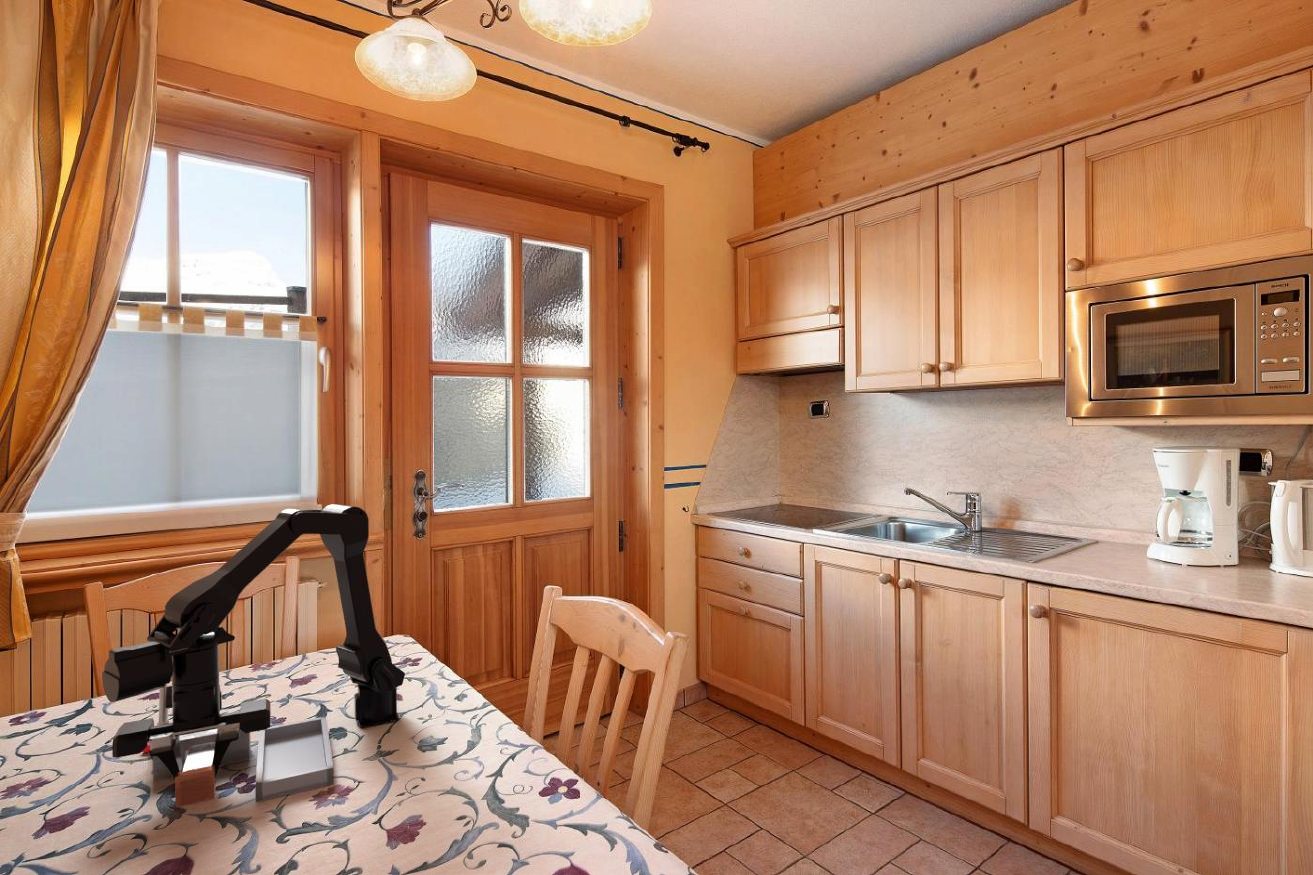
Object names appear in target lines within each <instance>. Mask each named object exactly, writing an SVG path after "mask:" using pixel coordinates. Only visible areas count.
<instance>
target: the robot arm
mask: <svg viewBox="0 0 1313 875" xmlns="http://www.w3.org/2000/svg"><path fill="white" fill-rule="evenodd" d="M369 520H370V519H369V515H368V513H367V512H366V510H364V509H362V508H361V507H359V506H355V505H347V504H346V505H345V504H336V503H335V504H329V505H326V506H325V507H324V508H323V509H294V508H286V509H283V510H282V511H280V512H278V514H277V515H276V517H275V518H274V520H273V521H271V522H270V523H269V524H268V525H267V526H266V527H264V528H263V529H262V530H261V531H260V532H259V533H257V534H256V535H255V537H253V538H252V539H251V540H250V541H249V542H248V543H246V544H244V545H243V547H241V549H240V550H238V551H237V552H236V553H235V554H234V555H233V556H232V557H231V558H229V559H228V560H227V561H226V562H225V563H224V564H223V565H221V567H219V568H218V569H216V570H215V571H213V572H212V573H211V574H209V575H206V576H204V577H202V578H200V579H197V580H195V581H193V582H192V583H190V584H189V585H187V586H185V587H184V588H183V589H181V590H179V591H178V592H176V593H175V594H173V595H172V596H171V597H170V599H169V600H167V602H166V604H165V605H164V608H165V609H164V614H163V615H162V617H161V618H160V619H159V621H158V622H157V624H156V625H155V626H154V628H153V629H152V631H151V632H150V633H149V635H148V636H147V638H146V641H147V642H144V643H141V644H140V643H139V644H136V645H131V646H124V647H122V646H121V647H116V648H111V649H110V650H109V651H108V659H107V660H106V662H105V664H104V669H103V671H102V672H101V675H102V676H101V678H102V679H101V680H102V681H101V682H102V686H103V691H104V693H105V696H106V698H107V700H108V701H109V702H110V703H116V702H119V701H124V700H126V699H131V698H133V697H139V696H141V695H145V694H149V693H152V692H154V691H155V692H156V691H160V689H162V688H163V687H164V686H165V684H167V686H168V687H167V688H166V700H165V707H166V708H168V709H172V712H171V713H172V722H169V723H168V724H162V725H157V724H156V725H155V721H154V720H155V719H154V717H152V718H151V717H150V718H146V719H145V718H144V719H140V720H139V719H138V720H134V721H129V722H124V723H123V724H121V725H120V727H119V728H118V729H117V732H116V733H115V735H114V737H113V738H112V748H111V750H112V751H111V752H112V758H114V759H115V758H116V759H117V758H124V757H128V756H134V755H139V754H142V753H143V752H142V751H143V750H144V749H145V748H146V747H147V745H148V743H149V744H150V751H149V753H148V757H150V758H153V757H154V756H157V757H158V758H159V759H160V760H161V761H162V762H163V764H164V765H165V766H166V767H167V768H168V770H169V771H170V773H171V775H172V776H171V777H172V778H173V780H174V781H175V776H176V773H178V772H183V766H182V759H181V753H180V743H179V736H180V735H186V734H191V733H196V732H202V731H207V730H213V729H217V736H216V741H215V748H214V756H213V764H212V765H215V780H216V779H217V776H218V773H219V770H220V767H221V766H220V765H221V762H222V759H223V757H224V755H225V753H226V751H227V749H228V747H229V745H230V743H231V742H232V741H236V740H238V739H239V736H240V730H241V731H243V732H245V733H250V734H251V733H255V732H259V731H260V730H266V729H268V728H270V727H271V720H272V718H271V713H272V711H271V701H270V700H269V699H267V698H261V699H257V700H256V699H255V700H249V701H245V702H241V703H240V710H238V711H231V712H226V713H221V711H222V709H223V703H222V702H223V701H222V700H223V698H222V697H223V695H222V691H221V685H220V650H219V649H220V646H219V645H221V644H225V643H229V642H233V641H235V639H236V636H235V635H233V634H231V633H229V632H228V631H226V629H224V626H221V625H222V623H223V622H225V620H226V618H227V617H228V616H229V614H231V612H232V611H233V609H234V608H235V606H236V604H237V602H238V600H239V597H240V595H241V594H242V592H243V591H244V590H245V589H246V588H247V587H248V586H249V585H250V584H251V583H252V582H253V581H254V580H255V579H256V578H257V577H259V575H260V574H261V573H263V572H264V571H265V570H266V569H267V568H268V567H269V566H270V565H271V564H272V563H273V562H274V561H276V559H278V558H279V556H280V555H282V554H283V553H284V552H285V551H286V550H287V549H288V548H289V547H290V546H292V545H293V543H295V541H298V539H299V538H300V537H301V536H303V535H319V536H320V538H321V542H322V544H323V545H324V547H326V549H327V551H328V552H329V554H330V555H331V557H332V559H333V562H334V568H335V575H336V580H337V587H338V592H339V598H340V603H341V609H342V614H343V620H344V621H343V622H344V625H345V626H344V627H345V633H346V634H345V635H346V636H345V639H344V642H343V644H341V645H337V646H336V647H335V652H336V654H337V657H338V666H337V668H338V669H341V670H342V672H343V674H344V675H347V676H348V677H349V679H350V681H351V683H352V684H354V685H355V684H356V685H357V692H356V693H354V696H353V698H354V700H353V701H354V703H353V704H354V718H355V721H356V722H358V726H359V728H366V727H372V726H375V725H381V724H387V723H391V722H396V721H399V719H400V718H399V714H398V701H397V698H398V696H397V692H398V691H397V688H398V687H401V686H403V684H404V680H405V676H406V673H405V671H403V670H402V669H401V668H399V667H398V666H396V665H395V664H394V663H393V660H392V656H391V654H390V650H389V648H388V645H387V643H386V642H385V640H384V639H383V637H382V636H381V634H380V633H379V631H378V630H377V627H376V620H375V616H374V610H373V602H372V596H371V592H370V591H371V590H370V585H369V579H368V578H369V577H368V575H367V573H368V572H367V568H366V562H365V561H366V560H365V554H364V553H365V550H366V548H367V544H368V541H369V539H370V530H369V529H370V522H369ZM176 631H178V633H177V634H176V633H174V632H176ZM169 684H171V685H170V686H169Z"/></svg>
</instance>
